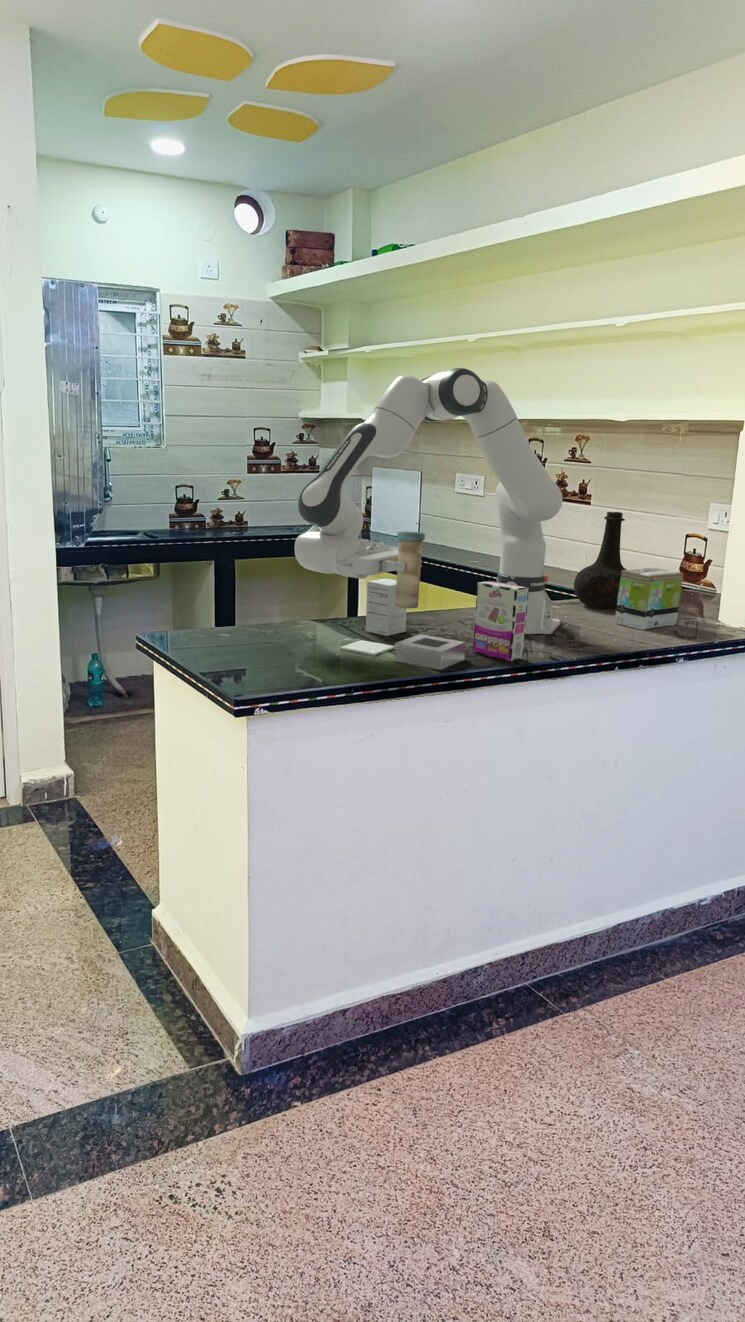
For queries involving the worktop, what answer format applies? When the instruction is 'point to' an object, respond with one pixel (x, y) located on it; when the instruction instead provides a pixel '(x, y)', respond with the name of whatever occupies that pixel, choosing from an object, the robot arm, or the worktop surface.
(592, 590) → the glass bottle
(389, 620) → the supplement box
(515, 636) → the candy bar box
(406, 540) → the birch stopper
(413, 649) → the metal collar
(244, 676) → the worktop surface
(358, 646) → the white mat
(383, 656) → the worktop surface
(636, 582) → the tea box
